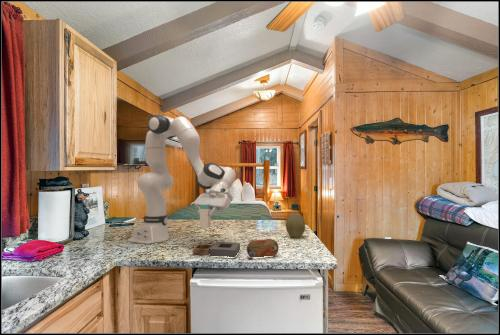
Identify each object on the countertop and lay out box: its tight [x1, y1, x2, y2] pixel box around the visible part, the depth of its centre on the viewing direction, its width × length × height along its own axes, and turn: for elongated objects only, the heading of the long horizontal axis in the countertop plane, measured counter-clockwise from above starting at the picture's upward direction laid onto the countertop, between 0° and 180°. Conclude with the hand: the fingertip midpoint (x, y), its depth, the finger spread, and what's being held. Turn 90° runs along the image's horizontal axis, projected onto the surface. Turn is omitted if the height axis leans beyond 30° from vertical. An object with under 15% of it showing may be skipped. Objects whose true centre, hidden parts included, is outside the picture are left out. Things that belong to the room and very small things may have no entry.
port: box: [209, 241, 241, 257], centre depth 121 cm, size 12×12×4 cm
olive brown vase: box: [285, 211, 306, 239], centre depth 152 cm, size 11×11×15 cm
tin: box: [246, 238, 279, 258], centre depth 117 cm, size 15×3×8 cm, turn 106°
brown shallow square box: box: [192, 243, 214, 256], centre depth 123 cm, size 8×8×3 cm
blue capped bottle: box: [199, 204, 212, 229], centre depth 123 cm, size 4×4×11 cm
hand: (204, 215), depth 123 cm, fingers closed on blue capped bottle, 5 cm apart
